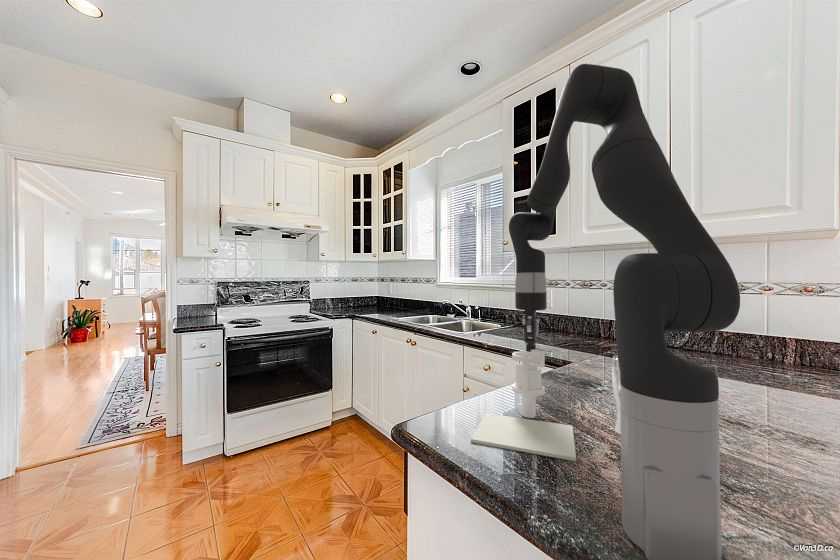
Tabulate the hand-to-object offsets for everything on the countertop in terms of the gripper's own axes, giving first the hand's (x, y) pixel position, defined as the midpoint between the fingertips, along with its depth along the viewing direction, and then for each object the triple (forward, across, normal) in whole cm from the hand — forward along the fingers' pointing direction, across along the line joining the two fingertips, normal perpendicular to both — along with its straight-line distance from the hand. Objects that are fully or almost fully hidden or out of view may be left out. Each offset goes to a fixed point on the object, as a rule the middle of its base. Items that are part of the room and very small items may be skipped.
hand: (531, 359), depth 84 cm
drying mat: (+11, -20, 0) cm, 23 cm away
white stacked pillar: (+11, -9, 0) cm, 14 cm away
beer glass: (+11, -11, -20) cm, 25 cm away
